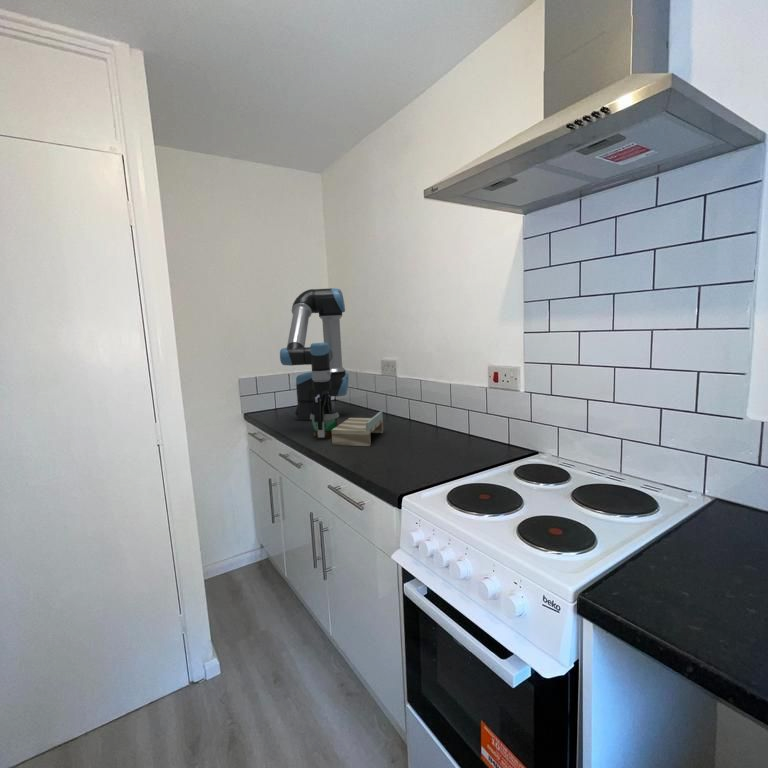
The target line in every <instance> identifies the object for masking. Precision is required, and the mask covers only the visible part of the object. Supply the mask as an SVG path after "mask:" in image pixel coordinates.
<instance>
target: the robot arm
mask: <svg viewBox="0 0 768 768" xmlns="http://www.w3.org/2000/svg"><path fill="white" fill-rule="evenodd" d="M344 299H345V298H344V295H343V292H342V290H341V289H340V288H335V287H334V288H330V287H329V288H314V289H313V288H312V289H307V290H305V291H303V292H301V293H300V294H299V295H298V296H297V297H296V298H295V300H294V302H293V303H292V307H291V313H292V318H291V324H290V329H289V335H288V339H287V344H286V345H287V346H286V347H284V348H283V347H282V348H281V349H280V351H279V360H280V363H281V365H283V366H291V367H292V366H305V365H308V366H309V365H310V366H311V371H310V372H305V373H301V374H298V375H297V376H296V378H295V380H296V381H295V382H296V383H295V386H296V388H295V389H296V401H297V404H296V408H295V412H294V419H295V420H298V421H312V419H310V414H313V415H314V421H315V422H317V428H318V437H321V438H320V439H325V438H324V437H325V430H324V422H323V414H334V413H333V405H332V397H344V396H347V394H348V388H349V378H350V377H349V376H350V375H349V374H350V373H348V372H346V369H345V367H343V357H342V341H341V337H342V336H341V324H340V323H341V322H340V321H341V318H342V317H343V313H345V312H346V305H345V300H344ZM312 314H318V317H319V318H320V319H321V321H322V332H323V333H322V336H323V342H314V343H310V346H308V347H305V346H306V339H307V335H308V334H307V332H308V326H309V318H310V317H311V316H312Z"/></svg>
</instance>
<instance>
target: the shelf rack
mask: <svg viewBox="0 0 768 768" xmlns="http://www.w3.org/2000/svg"><path fill="white" fill-rule="evenodd" d="M383 419H384V416H383V411H381V410H380V411H379V412H377V413H376V414H374V416H372V417H348V418H347V419H345V420H344V421H342V422H341V423H340V424H337V427H335V428H334V429H332V437H331V445H332V446H349V447H350V446H353V447H370V446H371V445H372V443H371V434H383V433H384V420H383Z"/></svg>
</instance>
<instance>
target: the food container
mask: <svg viewBox="0 0 768 768" xmlns="http://www.w3.org/2000/svg"><path fill="white" fill-rule="evenodd" d="M339 418H340V414H339V412H338V411H337V412H335V413H333V414H323V422H324V430H325V437H324V438H323V439H332V429H334V428H335V427H337V426H338V419H339ZM310 419H312V420H311V423H312V430H313V436H314V438H317V439H322V438H321V437H318V428H317V422H315V421H314V415H313V414H310Z"/></svg>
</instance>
